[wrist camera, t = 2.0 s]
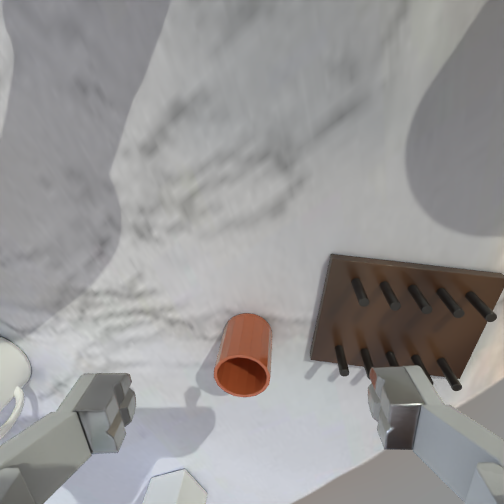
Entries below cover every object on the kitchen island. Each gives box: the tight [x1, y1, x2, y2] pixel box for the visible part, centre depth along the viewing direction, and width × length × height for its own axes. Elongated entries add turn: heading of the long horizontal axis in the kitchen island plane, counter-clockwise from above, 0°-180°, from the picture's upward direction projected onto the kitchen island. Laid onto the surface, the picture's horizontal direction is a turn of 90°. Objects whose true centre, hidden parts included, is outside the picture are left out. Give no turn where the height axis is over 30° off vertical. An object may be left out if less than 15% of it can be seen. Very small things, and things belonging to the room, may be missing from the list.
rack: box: [310, 254, 504, 391], centre depth 36 cm, size 18×14×5 cm
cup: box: [214, 313, 272, 397], centre depth 38 cm, size 6×6×7 cm
